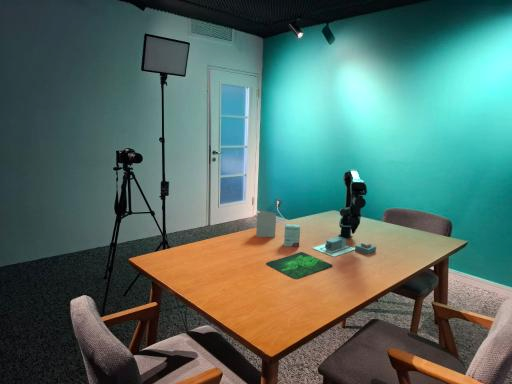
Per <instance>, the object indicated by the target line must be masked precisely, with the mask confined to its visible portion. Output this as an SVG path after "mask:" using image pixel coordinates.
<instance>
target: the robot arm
mask: <svg viewBox="0 0 512 384" xmlns="http://www.w3.org/2000/svg"><path fill="white" fill-rule="evenodd" d="M342 180H343V184H344V186H345V200H344V201H345V202H344V207H343V208H339V211H338V212H339V215H340V219H339V222H338V223H339V224H338V226H339V228H340V234H338V236H337V237H343V238H345V239H349V238H353V237H354V236H353V234H355V233H356V231H357V230H358V228H359V226H360V224H361V219H362V208H364V207H365V206H366V203H367V202H366V200H365V198H364V196H367V193H368V189H367V188H368V187H367V184H366V183H365V181H364V180H363V179H361V178H360V175H359V170H358V169H349V170H348V171H346V172H344V173H343V178H342Z"/></svg>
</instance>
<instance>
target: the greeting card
mask: <svg viewBox="0 0 512 384" xmlns="http://www.w3.org/2000/svg"><path fill="white" fill-rule="evenodd" d="M276 222H277V213H276V212H271V211H266V210H259V212H257V213H256V230H255V231H256V233H255V237H256V238H276V227H277V226H276V225H277V223H276Z"/></svg>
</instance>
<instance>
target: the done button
mask: <svg viewBox="0 0 512 384" xmlns="http://www.w3.org/2000/svg"><path fill="white" fill-rule="evenodd" d="M360 244H361V246H363V247H366V248H369V247H371V245H372V243H369V242H367V241H364V242H361V243H360Z"/></svg>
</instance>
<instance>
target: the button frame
mask: <svg viewBox="0 0 512 384" xmlns="http://www.w3.org/2000/svg"><path fill="white" fill-rule="evenodd" d="M354 248H355V250H354V251H356V252H358V253H361V254H364V255H367V256H369V255H371V254H374V253H375V252H377V251H376V250H377V246H375V245H372V244H371V247H369V248H366V247H363V246H361V243H358V244H356V245H355V247H354Z"/></svg>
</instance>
